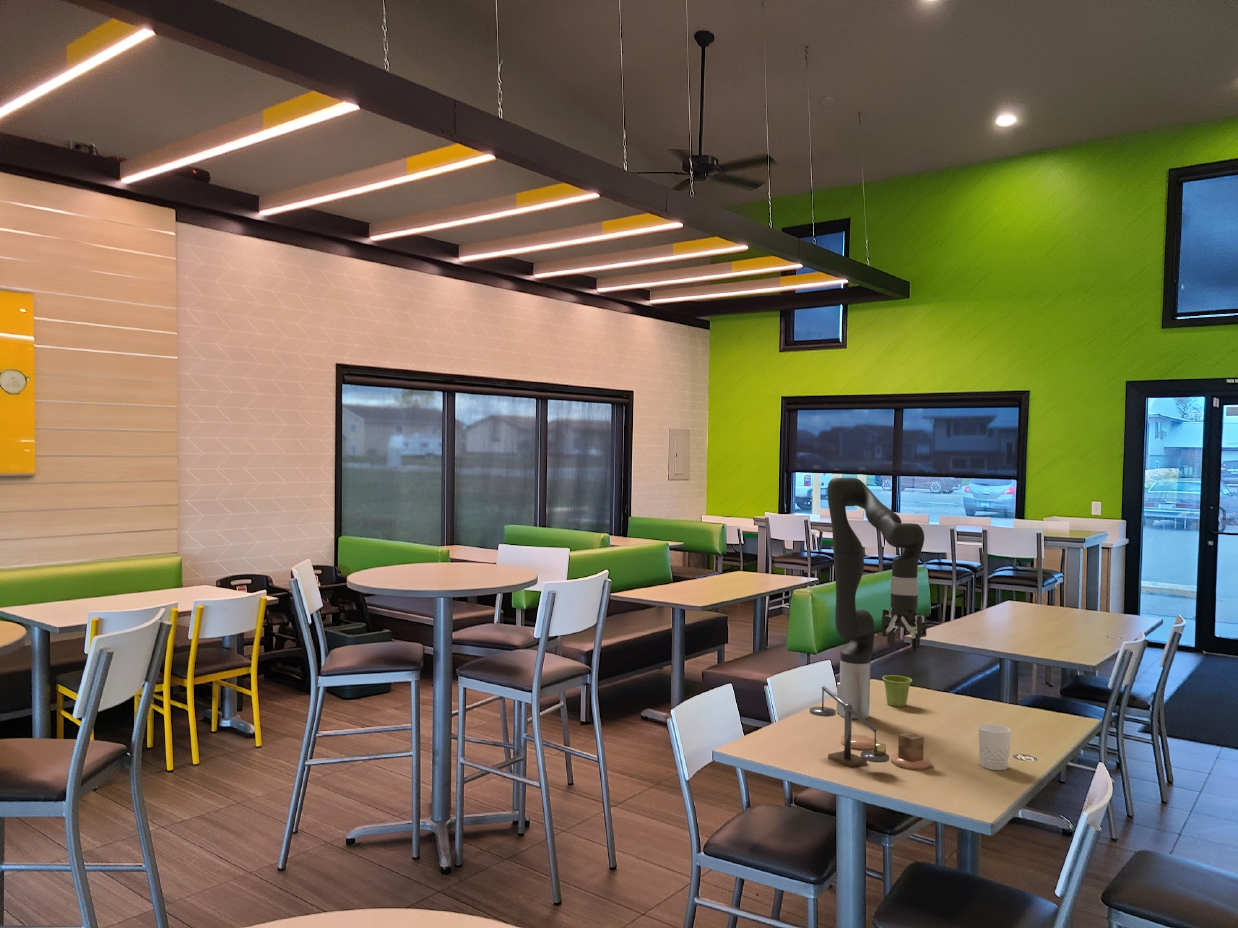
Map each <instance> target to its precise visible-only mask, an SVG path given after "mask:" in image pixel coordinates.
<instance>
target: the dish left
mask: <svg viewBox="0 0 1238 928" xmlns="http://www.w3.org/2000/svg"><path fill="white" fill-rule="evenodd" d="M840 743H841V746H844V735H843V736H841V738H840ZM876 743H879V742H878V740H877V739H876ZM858 749H860V750H861V751H868V750H870V749H872V750H874V737H871V736H867V735H863V734H862V735H861V734H851V750H858ZM860 750H859V751H860Z"/></svg>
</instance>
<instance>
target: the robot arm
mask: <svg viewBox="0 0 1238 928" xmlns="http://www.w3.org/2000/svg"><path fill="white" fill-rule="evenodd" d="M826 488H827V494H826V495H827V504H828V510H829V515H830V516H829V517H830V522H831V530H832V531H831V532H832V543H833V545H832V547H833V562H834V563H833V565H834V573H835V574H834V577H835V613H834V614H835V618H834V619H835V621H834V622H835V623H834V624H835V628H836V629H835V630H836V632H837V634H838V636H839V638H840V639H842V640H843V641H847V642H848V641H849V642H848V644H847V645H846V646H845V647H844V648H842V650H841V651H840V654H839V657H840V658H839V682H837V685H836V687H837V689H836V696H837V697H838V698H839V699H841V700H842V701H843V702H844V703H846V704H851V705H852V706H853V710H854V711H855V712H856V713H858V714H859V715H860V716H861V717H863V718H864V719H865V720H866V719H869V718H870V702H871V701H870V699H871V698H870V697H871V696H870V695H871V658H872V655H873V653H874V646H875V645H874V644H875V643H874V642H875V621H874V618H873V616H872V614H871V612H869V611H868V610H867V609H856V596H857V595H856V594H857V590H858V588H859V584H860V582H861V579H862V578H863V574H864V571H865V558H864V555H865V554H864V547H863V544H862V542H861V540H860V539H859V537H858V536H857V534H856V532H855V531H854V530H853V528H852V527H851V524H850V523H849V521H848V517H847V510H846V507H859V508H861V509H864V511H865V517H866V520H867V521H868V523H870V525H871V526H873V527H874V528H875V529H877V530H878V532H880V533H881V534H882V537H884V540H885V541H886V542H887V544H888V545H890V546H891V547H894V548H897V549H898V548H899V549H901V548H903V549H904V550H903V552H902V554H900V555H897V556H894V557H893V558H892V560H891V561H892V564H891V565H892V566H891V581H890V605H889V606H890V608H891V609H890V608H885V609H882V617H881V629H882V630H883V631H885V632H886V633H887V634H886V635H887V636H886V638H887V639H886V641H887V645H888V646H890V647H893V646H895V645H896V630H897V629H898V628H902V629H907V632H909V633H910V635H911V650H910V651H911V652H919V650H920V649H921V648H920V647H921V645H920V644H921V638H926V637H927V617H926V615H918V614H917V610H918V608H919V581H918V563H919V560H920V557H921V553H922V550H923V546H924V543H925V533H924V529H923V527H921V525H919V524H918V523H902V520H901V519H902V518H901V517H900V516H899V514H897V513H896V512H894V511H893V510H892V509H890V508H889V507H887V506H886V505H885V504H883V503H882V502H881V501H880V500H879V499H878V497H877V496H876V495H875V494H874V493H873V492H872V490H870V488H869V487H868V486H867V485H866V484H865V483H864V482H863V481H862V480H860V479H859V478H857V477H835V478H832V479H830V480H829V482H828V484H827V487H826ZM836 714H839V716H841V717H843V718H845V711H844V707H843V706H842V705H841V704H840V703H838V702H837V701H836ZM853 719H854V720H859V719H858V718H857V717H855V716H854V715H853V714H852V720H853Z"/></svg>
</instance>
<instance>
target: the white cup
mask: <svg viewBox="0 0 1238 928" xmlns="http://www.w3.org/2000/svg"><path fill="white" fill-rule="evenodd" d="M977 729H978V730H977V731H978V735H977V736H978V754H979V764H980V766H981V767H982V768H983V769H987V770H992V771H1005V770H1007V769H1008V767H1009V758H1010V749H1011V748H1010V747H1011V735H1012V733H1011V732H1012V730H1011V729H1010V728H1009V727H1007V726H1003V725H999V724H992V723H983V724H980V725H978V726H977Z"/></svg>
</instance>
